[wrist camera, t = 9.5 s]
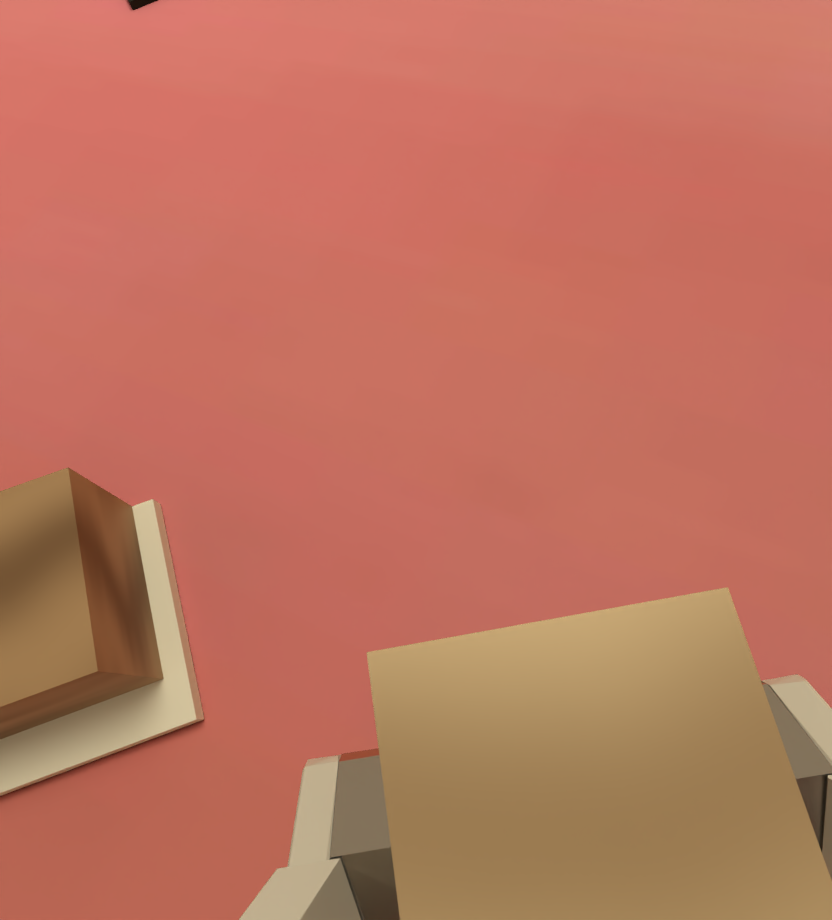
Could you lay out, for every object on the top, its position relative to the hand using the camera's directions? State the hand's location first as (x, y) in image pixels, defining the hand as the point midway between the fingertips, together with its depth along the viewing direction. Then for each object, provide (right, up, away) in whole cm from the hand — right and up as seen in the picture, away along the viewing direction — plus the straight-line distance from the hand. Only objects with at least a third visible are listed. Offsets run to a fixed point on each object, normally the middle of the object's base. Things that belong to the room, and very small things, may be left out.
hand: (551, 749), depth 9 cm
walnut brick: (-17, -3, +18) cm, 26 cm away
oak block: (+1, -2, +4) cm, 5 cm away
